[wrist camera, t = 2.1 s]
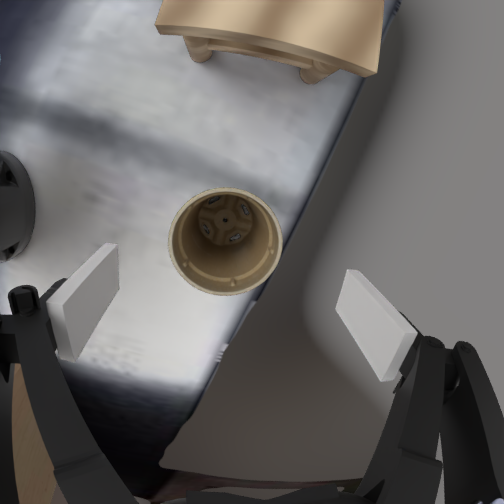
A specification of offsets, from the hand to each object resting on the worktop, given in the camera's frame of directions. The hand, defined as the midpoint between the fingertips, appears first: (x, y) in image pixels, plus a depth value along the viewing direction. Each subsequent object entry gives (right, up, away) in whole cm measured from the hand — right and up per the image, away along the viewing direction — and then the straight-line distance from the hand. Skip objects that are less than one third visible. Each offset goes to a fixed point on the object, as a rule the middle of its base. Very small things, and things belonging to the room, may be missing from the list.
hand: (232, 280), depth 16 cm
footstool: (+3, +27, +8) cm, 29 cm away
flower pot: (-2, +5, +16) cm, 17 cm away
